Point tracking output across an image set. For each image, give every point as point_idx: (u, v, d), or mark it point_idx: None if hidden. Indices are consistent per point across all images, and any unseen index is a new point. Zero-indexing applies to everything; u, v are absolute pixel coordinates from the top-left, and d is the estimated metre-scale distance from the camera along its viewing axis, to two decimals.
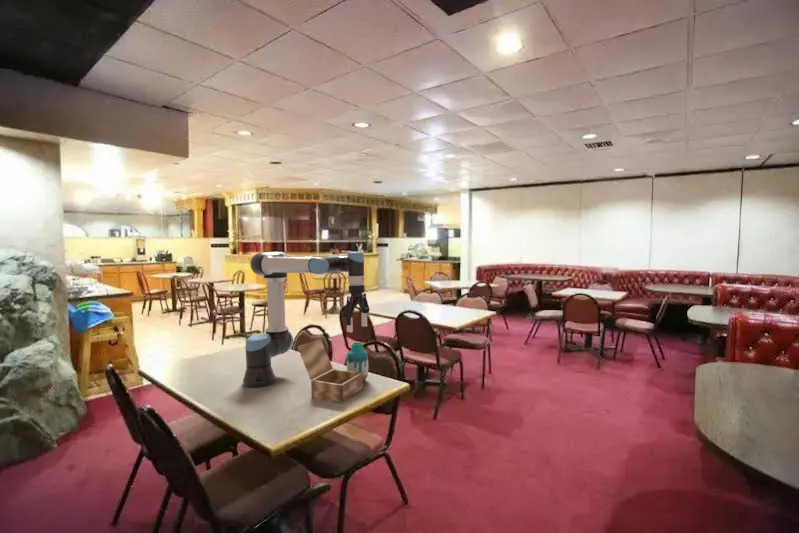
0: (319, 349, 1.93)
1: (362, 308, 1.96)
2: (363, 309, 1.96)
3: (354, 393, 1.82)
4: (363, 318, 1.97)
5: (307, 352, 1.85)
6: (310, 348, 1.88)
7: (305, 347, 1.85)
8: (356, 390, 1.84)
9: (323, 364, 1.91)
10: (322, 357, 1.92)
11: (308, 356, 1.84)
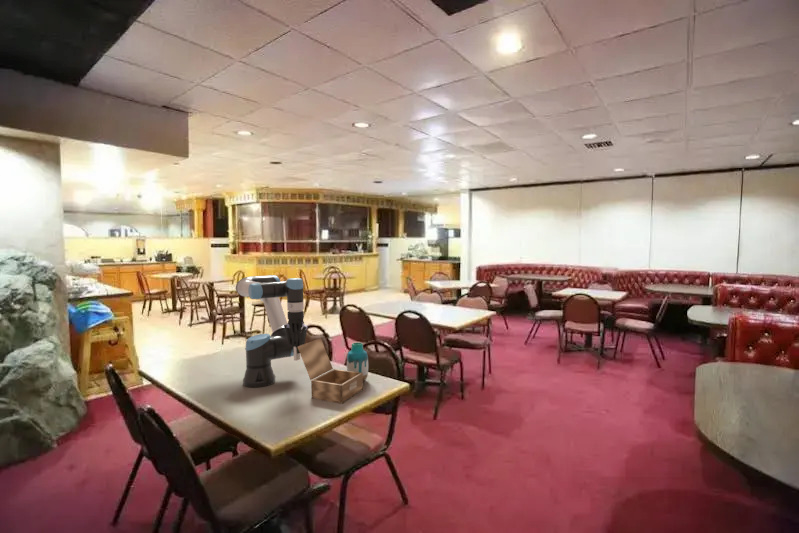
0: (319, 349, 1.93)
1: None
2: None
3: (354, 393, 1.82)
4: None
5: (307, 352, 1.85)
6: (310, 348, 1.88)
7: (305, 347, 1.85)
8: (356, 390, 1.84)
9: (323, 364, 1.91)
10: (322, 357, 1.92)
11: (308, 356, 1.84)
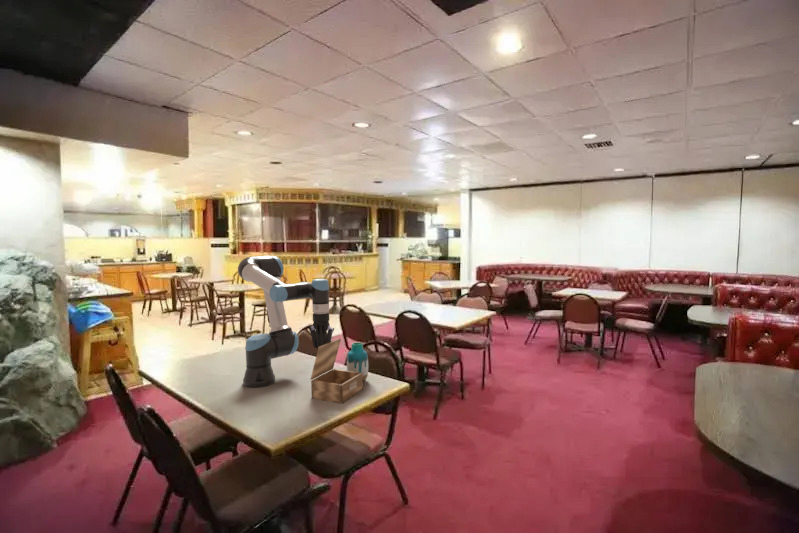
0: (333, 350, 1.89)
1: None
2: None
3: (354, 393, 1.82)
4: None
5: (323, 353, 1.81)
6: (327, 349, 1.84)
7: (324, 348, 1.81)
8: (356, 390, 1.84)
9: (328, 364, 1.89)
10: (331, 358, 1.90)
11: (321, 357, 1.81)
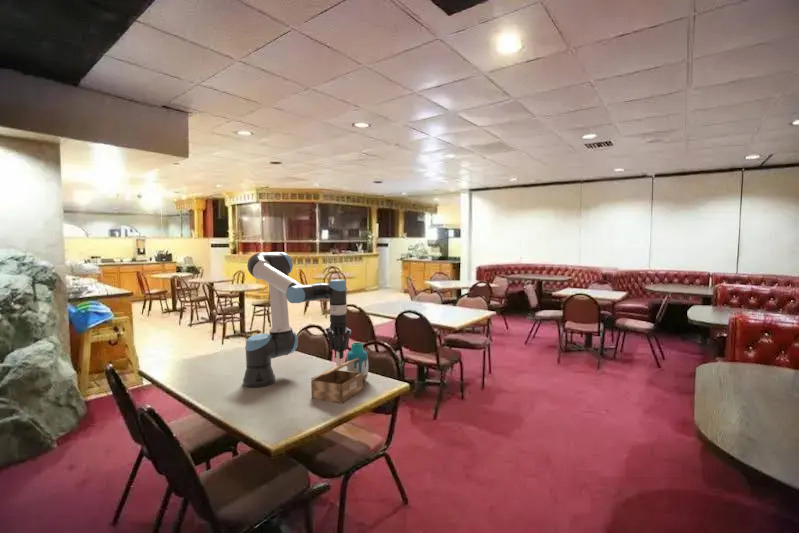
0: None
1: None
2: None
3: (354, 393, 1.82)
4: None
5: None
6: None
7: (341, 367, 1.78)
8: (356, 390, 1.84)
9: (332, 369, 1.89)
10: None
11: None
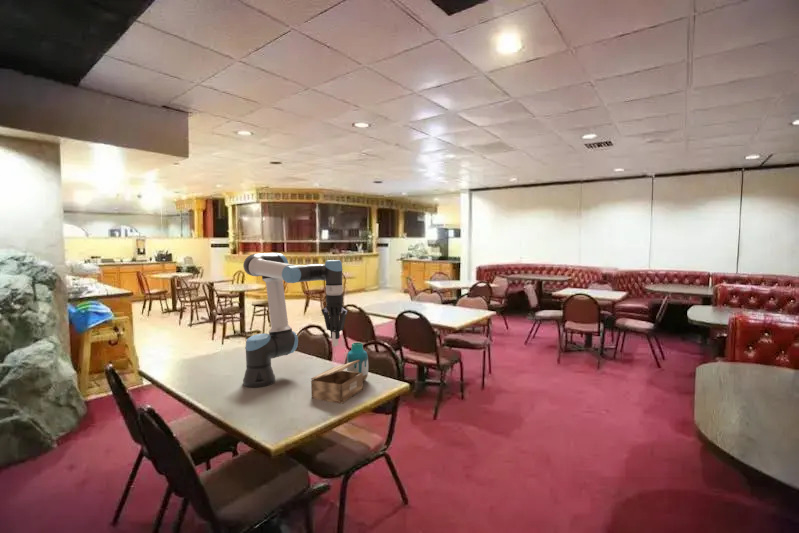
0: (346, 365, 1.87)
1: None
2: None
3: (354, 393, 1.82)
4: None
5: None
6: None
7: (342, 369, 1.78)
8: (356, 390, 1.84)
9: (332, 370, 1.89)
10: None
11: (333, 372, 1.79)
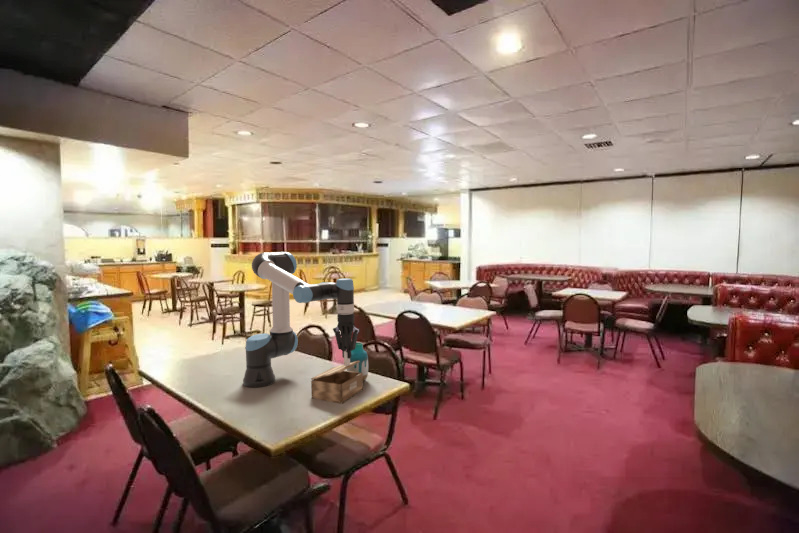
0: None
1: None
2: None
3: (354, 393, 1.82)
4: None
5: None
6: None
7: (342, 370, 1.78)
8: (356, 390, 1.84)
9: (332, 370, 1.89)
10: (339, 368, 1.88)
11: None
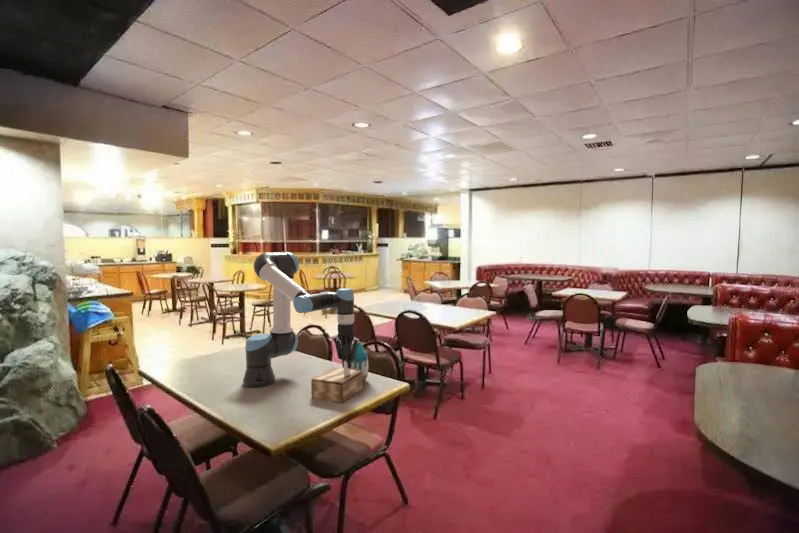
0: None
1: None
2: None
3: (354, 393, 1.82)
4: None
5: None
6: None
7: None
8: (356, 390, 1.84)
9: None
10: None
11: None
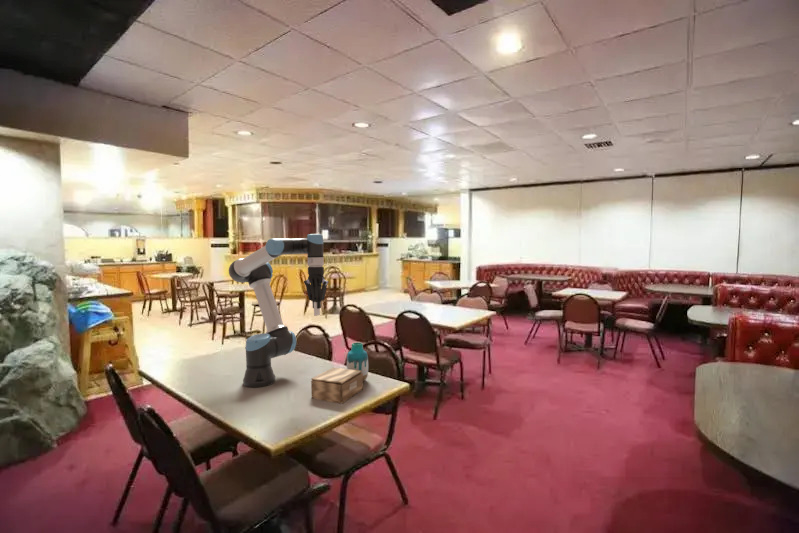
0: None
1: None
2: None
3: (354, 393, 1.82)
4: None
5: None
6: None
7: None
8: (356, 390, 1.84)
9: None
10: None
11: None
